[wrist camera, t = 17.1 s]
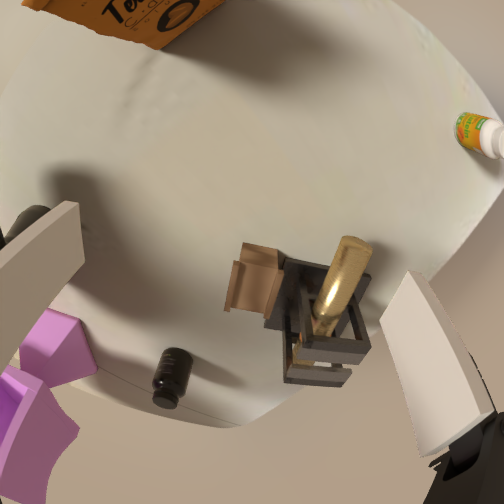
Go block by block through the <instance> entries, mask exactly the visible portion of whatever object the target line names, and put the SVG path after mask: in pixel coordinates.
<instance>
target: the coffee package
mask: <svg viewBox="0 0 504 504" xmlns="http://www.w3.org/2000/svg"><path fill="white" fill-rule="evenodd" d="M224 1H225V0H24V1H23V2H22V3H21V5H23V6H27V7H29V8H31V9H33V10H35V11H40V10H43V11H46V12H49V13H51V14H55V15H57V16H59V17H61V18H63V19H65V20H68V21H72V22H75V23H77V24H80V25H84V26H86V27H87V28H88V29H91V30H94V31H95V32H96V33H98V34H100V35H105V36H114V37H117V38H120V39H123V40H127V41H133V42H135V43H143V44H145V45H146V46H148V47H150V48H152V49H154V50H159V49H161V48H163V47H164V46H165V45H167V44H168V43H169V42H171V41H172V40H173V39H175V38H176V37H177V36H178V35H180V34H181V33H182V32H184V31H185V30H186V29H187V28H189V27H190V26H192V25H193V24H194V23H195V22H197V21H198V20H199V19H201V18H202V17H203V16H205V15H206V14H207V13H209V12H210V11H212V10H213V9H214V8H216V7H217V6H219V5H220V4H221V3H223V2H224Z"/></svg>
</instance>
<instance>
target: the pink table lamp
mask: <svg viewBox="0 0 504 504" xmlns="http://www.w3.org/2000/svg"><path fill="white" fill-rule="evenodd" d="M19 354H20V367H21V369H17V368H15V367H13V366H11V365H9V364H8V365H7V367H6V368H5V370H4V372H3V373H2V375H1V377H0V495H2V496H4V497H6V498H9V499H12V500H14V501H16V502H19V503H22V504H45V500H46V490H47V484H48V479H49V476H50V474H51V470H52V468H53V466H54V464H55V463H56V461H57V459H58V458H59V456H60V455H61V454H62V452H63V451H64V450H65V449H66V448H67V447H68V446H69V445H70V443H71V442H72V441H73V440H74V439H75V438H76V437H77V435H78V432H79V429H80V428H79V426H78V425H77V424H76V423H75V422H74V421H73V420H72V419H71V418H70V417H68V416H67V415H66V414H65V412H64V411H63V410H62V409H61V407H60V406H59V404H58V403H57V401H56V399H55V397H54V396H53V394H52V392H51V391H50V389H49V388H52V387H55V386H58V385H62V384H65V383H68V382H71V381H74V380H77V379H80V378H83V377H86V376H89V375H92V374H95V373H96V372H97V370H98V367H97V365H96V362H95V360H94V357H93V355H92V352H91V350H90V347H89V345H88V342H87V339H86V337H85V334H84V331H83V328H82V325H81V322H80V319H79V318H76V317H73V316H70V315H67V314H64V313H61V312H58V311H56V310H53V309H50V308H47V309H46V310H45V311H44V313H43V314H42V315H41V317H40V318H39V319H38V321H37V322H36V323H35V325H34V326H33V328H32V329H31V330H30V332H29V333H28V335H27V336H26V338H25V339H24V341H23V342H22V343H21V345H20V346H19Z"/></svg>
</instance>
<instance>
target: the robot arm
mask: <svg viewBox="0 0 504 504" xmlns="http://www.w3.org/2000/svg"><path fill="white" fill-rule="evenodd" d="M84 262H85V256H84V249H83V241H82V232H81V222H80V210H79V203H76V202H71V201H63V202H62V203H60V204H59V205H58V206H56V207H55V208H53V209H52V210H50V209H48V208H46V207H44V206H40V205H34V206H31V207H29V208H27V209H26V210H25V211H23V212H22V213H21V214H20V215H19V216H18V218H17V219H16V221H15V223H14V224H13V226H12V227H11V229H10V230H9V232H8V233H7V235H6V236H5V237H3V234H2V231H1V228H0V377H1V375H2V373H3V372H4V370H5V368H6V367H7V365H8V364H9V362H10V360H11V359H12V357H13V356H14V354H15V353H16V351H17V349H18V348H19V346H20V345H21V343H22V342H23V341H24V339H25V338H26V336H27V335H28V333H29V332H30V330H31V329H32V328H33V326H34V325H35V323H36V322H37V321H38V319H39V318H40V317H41V315H42V314H43V313H44V311H45V310H46V309H47V307H48V306H49V305H50V304H51V302H52V301H53V300H54V298H55V297H56V296H57V295H58V293H59V292H60V291H61V290H62V288H63V287H64V286H65V285H66V284H67V282H68V281H69V280H70V279H71V278H72V276H73V275H74V274H75V273H76V272H77V271H78V269H79V268H80V267H81V266H82V265H83V264H84ZM379 322H380V324H381V327H382V330H383V332H384V335H385V338H386V341H387V343H388V346H389V349H390V352H391V355H392V358H393V361H394V364H395V367H396V370H397V373H398V376H399V379H400V383H401V386H402V389H403V393H404V396H405V399H406V403H407V406H408V410H409V413H410V417H411V421H412V425H413V429H414V433H415V437H416V441H417V445H418V450H419V455H420V457H424V456H428V455H433V454H436V453H438V452H439V451H441V450H442V449H444V448H445V447H447V446H449V449H450V450H449V451H448V452H447V453H445V454H443V455H442V456H440V457H438V458H437V459H435V460H433V461H432V462H431V463H430V465H429V467H432V466H434V465H436V464H438V463H439V462H441V464H439V465H438V466H436V467H435V468H434V470H435V471H437V474H436V476H435V479H434V481H433V483H432V486H431V488H430V490H429V492H428V494H427V497H426V498H425V500H424V502H423V504H504V412H500V413H499V414H498V413H497V411H496V409H495V406H494V404H493V401H492V399H491V396H490V394H489V392H488V389H487V387H486V385H485V383H484V380H483V379H481V378H482V376H481V374H480V372H479V370H477V365H476V363H475V361H474V359H473V357H472V356H471V355H470V353H469V352H468V351H467V349H466V347H465V345H464V343H463V341H462V339H461V338H460V336H459V334H458V332H457V330H456V328H455V327H454V325H453V323H452V321H451V320H450V318H449V316H448V314H447V313H446V311H445V309H444V308H443V307H442V305H441V303H440V301H439V300H438V298H437V296H436V295H435V293H434V292H433V290H432V289H431V287H430V286H429V284H428V282H427V281H426V279H425V278H424V276H423V275H422V274H421V273H417V272H413V271H409V270H408V271H407V273H406V275H405V277H404V279H403V280H402V282H401V284H400V286H399V288H398V289H397V291H396V293H395V295H394V296H393V298H392V300H391V302H390V303H389V305H388V307H387V308H386V310H385V312H384V313H383V315H382V316H381V318H380V320H379ZM0 504H2V502H1V499H0Z"/></svg>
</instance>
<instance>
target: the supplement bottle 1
mask: <svg viewBox="0 0 504 504" xmlns="http://www.w3.org/2000/svg"><path fill="white" fill-rule="evenodd" d="M192 365H193V359H192V357H191V356H190V355H189V354H188V353H187V352H186V351H184V350H182V349H179V348H168V349H166V350H164V351H163V353H162V356H161V358H160V361H159V364H158V367H157V370H156V373H155V375H154V378H153V382H152V386H153V389H154V390H155V391H154V395H153V398H152V400H153V402H154V403H155V404H156V405H158V406H159V407H162V408H165V409H175V408H176V407H177V404H178V401H179V398H181V397H183V396H184V395H185V393H186V389H187V385H188V381H189V377H190V373H191V369H192Z"/></svg>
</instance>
